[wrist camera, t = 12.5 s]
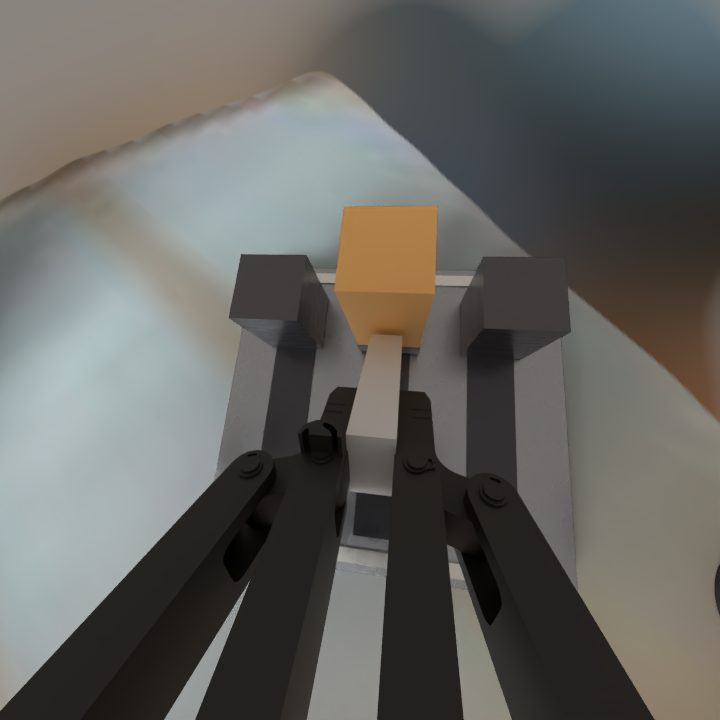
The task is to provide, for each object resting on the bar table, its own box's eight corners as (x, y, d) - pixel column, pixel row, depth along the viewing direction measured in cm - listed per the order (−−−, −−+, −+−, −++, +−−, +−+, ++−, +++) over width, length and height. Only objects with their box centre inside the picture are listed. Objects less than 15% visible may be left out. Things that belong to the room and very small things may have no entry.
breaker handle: (359, 350, 18) (332, 292, 10) (364, 296, 19) (342, 205, 11) (418, 353, 18) (436, 295, 10) (421, 298, 19) (438, 204, 11)
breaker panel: (221, 536, 19) (122, 596, 12) (265, 281, 23) (209, 217, 16) (557, 586, 16) (674, 700, 9) (541, 287, 20) (615, 213, 13)
